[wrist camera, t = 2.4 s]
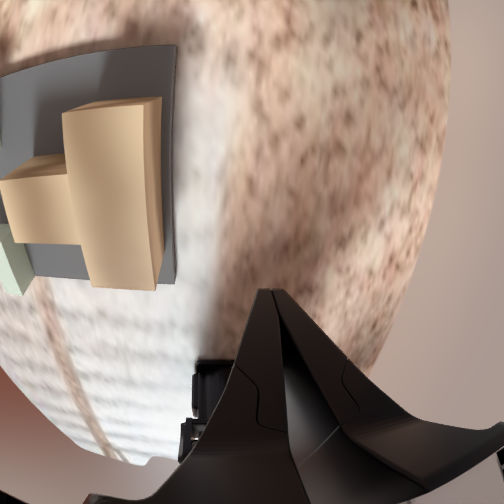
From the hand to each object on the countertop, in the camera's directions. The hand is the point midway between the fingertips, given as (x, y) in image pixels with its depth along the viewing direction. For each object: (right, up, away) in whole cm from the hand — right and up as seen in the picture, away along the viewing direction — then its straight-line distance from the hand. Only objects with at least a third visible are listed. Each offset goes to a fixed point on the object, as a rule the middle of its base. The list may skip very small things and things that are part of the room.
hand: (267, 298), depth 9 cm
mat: (-14, +6, +6) cm, 17 cm away
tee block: (-10, +6, +6) cm, 13 cm away
